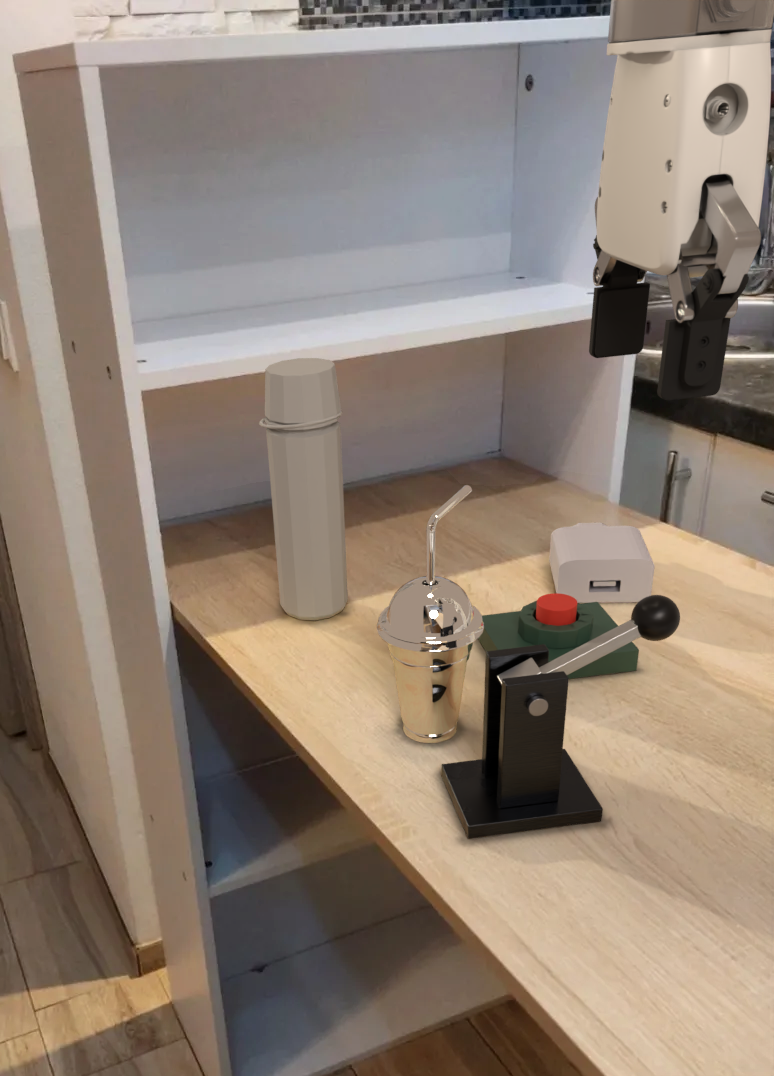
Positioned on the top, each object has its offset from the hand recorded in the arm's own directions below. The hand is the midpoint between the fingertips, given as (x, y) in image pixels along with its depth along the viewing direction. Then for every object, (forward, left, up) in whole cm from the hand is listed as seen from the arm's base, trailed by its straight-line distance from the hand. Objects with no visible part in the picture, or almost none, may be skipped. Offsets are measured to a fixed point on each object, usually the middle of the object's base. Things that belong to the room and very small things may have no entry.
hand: (648, 374), depth 59 cm
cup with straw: (+9, -15, -32) cm, 37 cm away
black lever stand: (+5, -4, -32) cm, 33 cm away
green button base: (-5, -25, -32) cm, 41 cm away
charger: (-15, -41, -32) cm, 54 cm away
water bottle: (+16, -41, -32) cm, 54 cm away
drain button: (-5, -25, -29) cm, 38 cm away
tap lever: (0, -4, -22) cm, 22 cm away
